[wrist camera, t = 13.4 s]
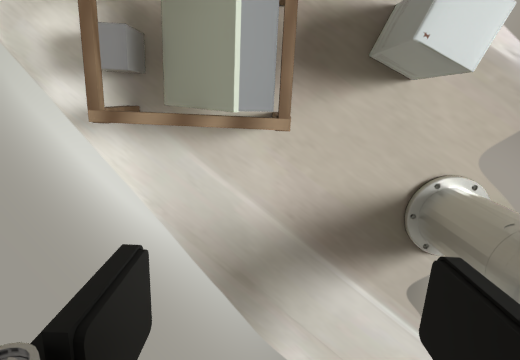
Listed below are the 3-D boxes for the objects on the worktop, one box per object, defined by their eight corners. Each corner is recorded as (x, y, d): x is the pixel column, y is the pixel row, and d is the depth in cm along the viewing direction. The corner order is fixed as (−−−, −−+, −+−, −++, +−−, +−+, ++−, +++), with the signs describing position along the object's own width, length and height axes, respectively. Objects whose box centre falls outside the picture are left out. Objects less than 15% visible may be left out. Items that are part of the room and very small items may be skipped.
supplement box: (412, 81, 44) (473, 75, 31) (366, 55, 43) (410, 38, 30) (444, 29, 42) (520, 1, 30) (397, 1, 41) (456, -40, 29)
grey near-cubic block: (81, 21, 36) (105, 31, 42) (85, 67, 37) (108, 71, 43) (125, 23, 36) (143, 33, 42) (127, 69, 37) (145, 73, 43)
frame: (291, -9, 41) (303, -47, 30) (283, 124, 45) (291, 132, 34) (120, -17, 40) (70, -59, 30) (128, 117, 44) (87, 123, 34)
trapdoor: (280, -23, 31) (236, -40, 27) (273, 112, 34) (233, 112, 30) (199, 5, 41) (161, -5, 38) (199, 105, 45) (164, 105, 41)
